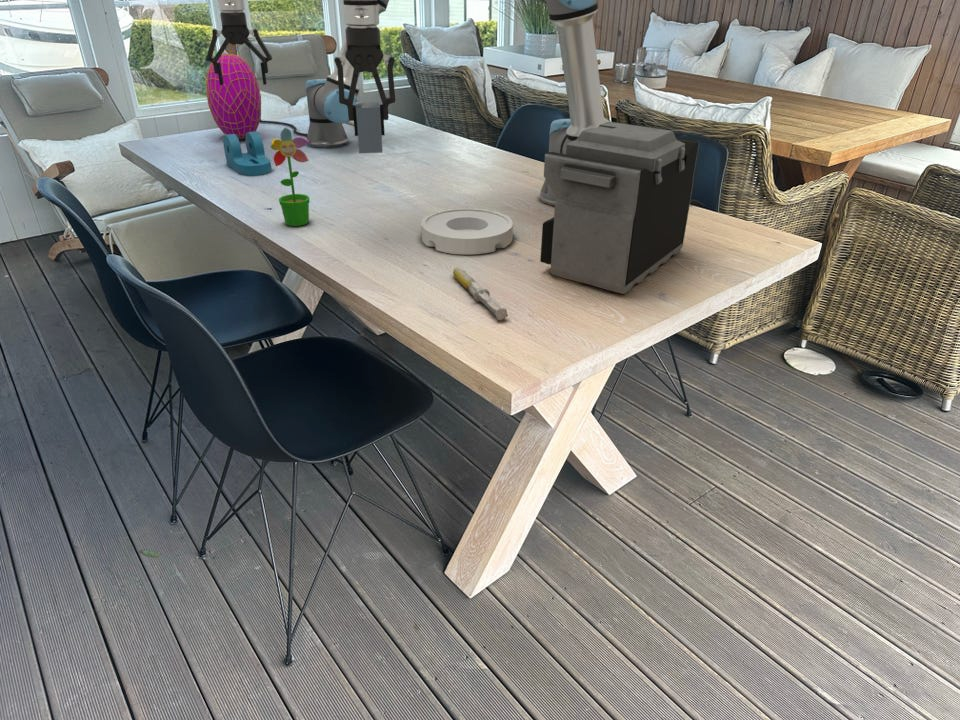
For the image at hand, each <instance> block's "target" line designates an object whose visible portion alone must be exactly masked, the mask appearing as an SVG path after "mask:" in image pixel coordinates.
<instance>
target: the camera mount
mask: <svg viewBox="0 0 960 720" xmlns="http://www.w3.org/2000/svg"><path fill="white" fill-rule="evenodd" d="M222 140H223V141H222V143H223V149H224V150H223V151H224V156H225V161H226V165H227V166H228V167H230V168H231V169H232V170H234V171H236V172H237V173H238V174H239V175H244V176H260V175H265V174H268V173H271V172H272V164H271V159H270V158H268V157H267V156H266V153H265V145H264V141H263V139H262V136H261V134H260V132H258V131H257V130H256V131H255V132H247V133H246V137H245V139H244V140H245V146H246V152H243V151H242V150H243V149H242V146H241V142H240V139H238V138H237V136H236V135H235V134H230V135H225V134H224V135H223V138H222Z"/></svg>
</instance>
